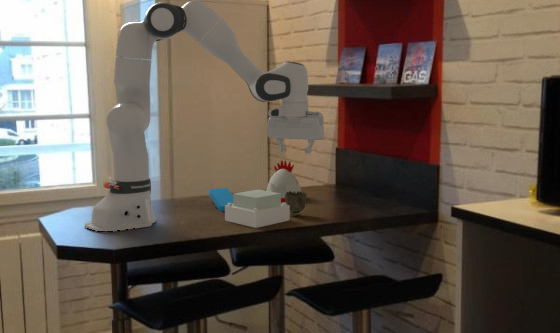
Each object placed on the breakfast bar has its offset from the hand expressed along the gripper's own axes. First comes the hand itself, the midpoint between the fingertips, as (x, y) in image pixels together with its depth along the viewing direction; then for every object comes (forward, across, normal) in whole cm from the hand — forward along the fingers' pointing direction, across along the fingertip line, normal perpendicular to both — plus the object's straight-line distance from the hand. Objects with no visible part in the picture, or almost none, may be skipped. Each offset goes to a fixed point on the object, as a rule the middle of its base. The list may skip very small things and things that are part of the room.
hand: (295, 152), depth 214 cm
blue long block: (+22, +32, -2) cm, 38 cm away
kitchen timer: (+22, +19, -25) cm, 38 cm away
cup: (+22, 0, 0) cm, 22 cm away
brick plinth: (+22, +8, +12) cm, 26 cm away
